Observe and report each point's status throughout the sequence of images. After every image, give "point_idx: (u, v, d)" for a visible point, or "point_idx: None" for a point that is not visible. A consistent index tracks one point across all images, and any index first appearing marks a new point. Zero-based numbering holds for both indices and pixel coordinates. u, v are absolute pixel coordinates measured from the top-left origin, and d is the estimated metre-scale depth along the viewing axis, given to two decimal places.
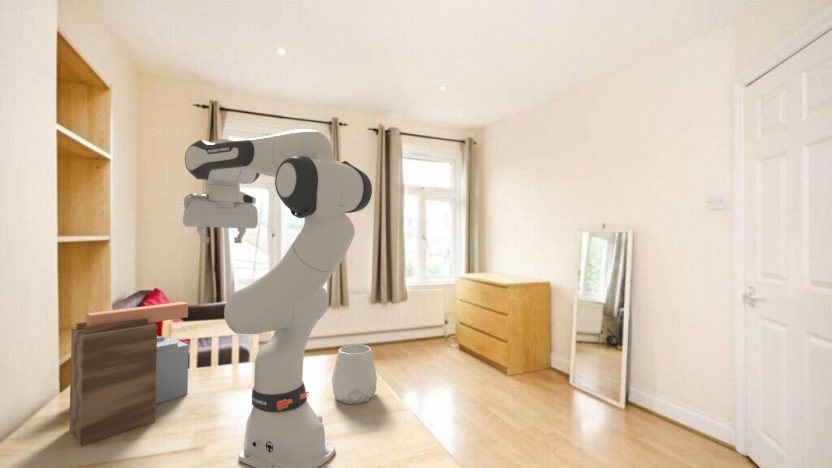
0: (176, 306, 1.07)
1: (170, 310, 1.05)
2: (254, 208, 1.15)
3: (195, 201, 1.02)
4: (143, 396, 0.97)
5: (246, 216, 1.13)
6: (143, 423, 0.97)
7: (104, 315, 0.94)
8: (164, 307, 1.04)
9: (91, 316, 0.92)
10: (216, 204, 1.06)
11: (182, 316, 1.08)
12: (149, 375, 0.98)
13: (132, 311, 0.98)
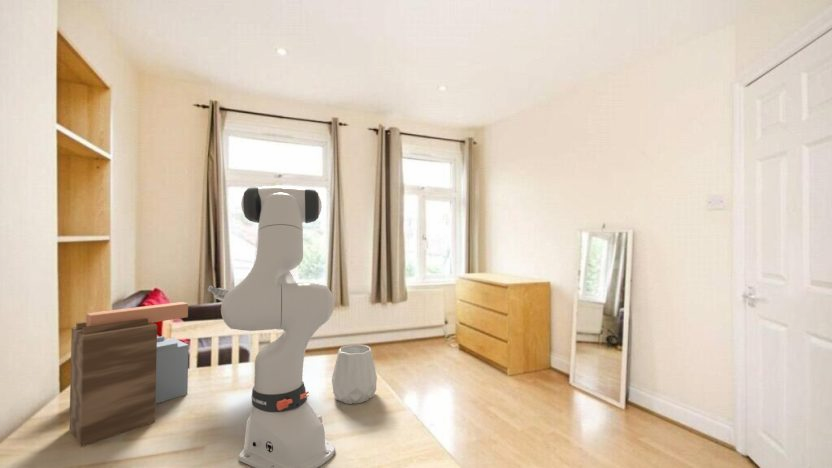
0: (176, 306, 1.07)
1: (170, 310, 1.05)
2: None
3: None
4: (143, 396, 0.97)
5: None
6: (143, 423, 0.97)
7: (104, 315, 0.94)
8: (164, 307, 1.04)
9: (91, 316, 0.92)
10: None
11: (182, 316, 1.08)
12: (149, 375, 0.98)
13: (132, 311, 0.98)
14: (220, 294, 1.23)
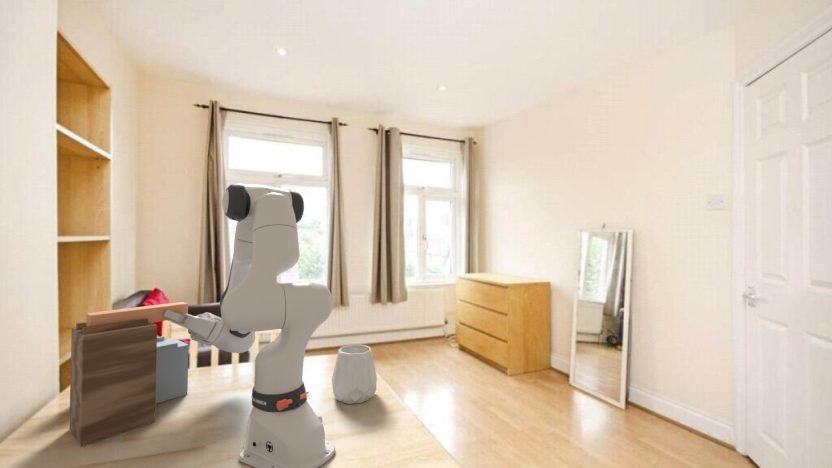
0: (176, 306, 1.06)
1: (170, 310, 1.05)
2: (212, 320, 1.08)
3: None
4: (143, 396, 0.97)
5: None
6: (143, 423, 0.97)
7: (104, 315, 0.94)
8: (164, 307, 1.04)
9: (91, 316, 0.92)
10: None
11: None
12: (149, 375, 0.98)
13: (132, 311, 0.98)
14: None
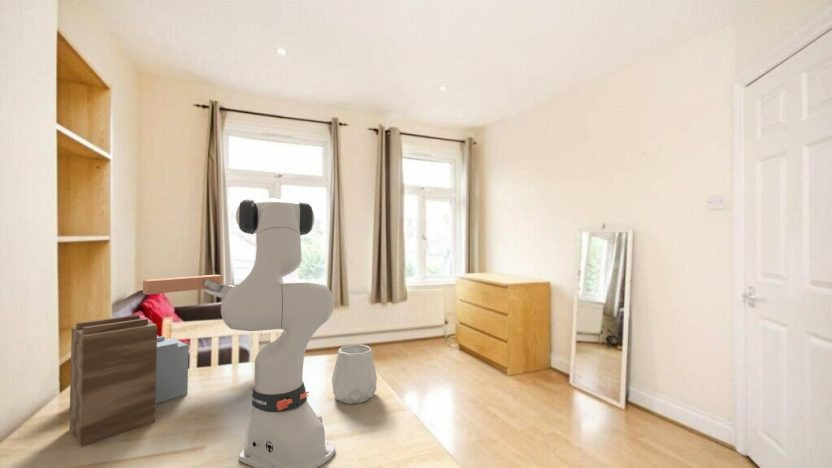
0: (213, 277, 1.26)
1: None
2: None
3: None
4: (143, 396, 0.97)
5: None
6: (143, 423, 0.97)
7: (158, 281, 1.13)
8: (204, 277, 1.24)
9: (148, 282, 1.11)
10: None
11: None
12: (149, 375, 0.98)
13: (179, 279, 1.18)
14: None
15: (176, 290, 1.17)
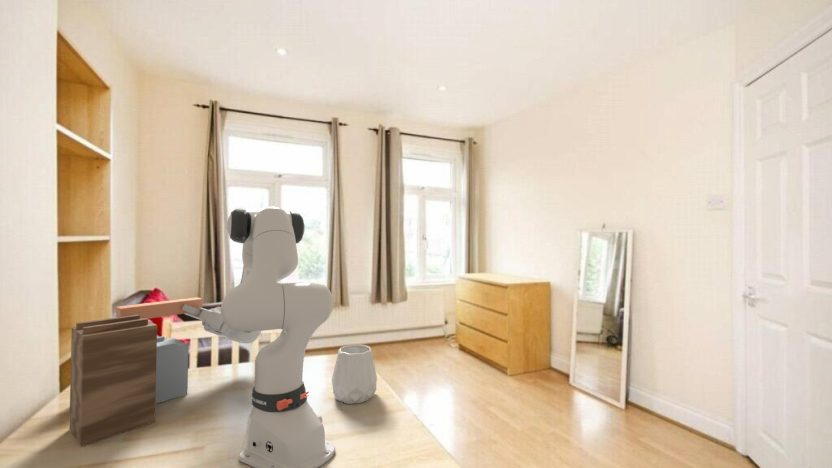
0: (192, 301, 1.21)
1: None
2: None
3: None
4: (143, 396, 0.97)
5: None
6: (143, 423, 0.97)
7: (132, 308, 1.08)
8: (182, 302, 1.19)
9: (121, 309, 1.06)
10: None
11: None
12: (149, 375, 0.98)
13: (155, 305, 1.13)
14: None
15: (152, 316, 1.12)
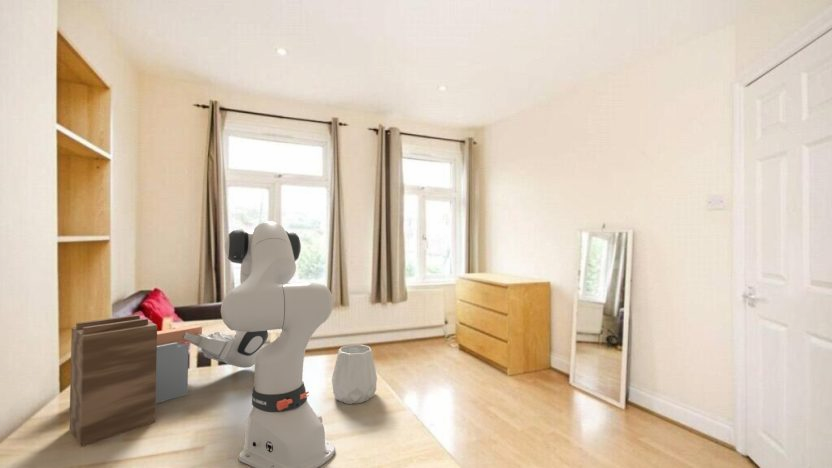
0: (192, 329, 1.21)
1: None
2: (223, 340, 1.23)
3: None
4: (143, 396, 0.97)
5: None
6: (143, 423, 0.97)
7: None
8: (181, 331, 1.19)
9: None
10: None
11: None
12: (149, 375, 0.98)
13: None
14: None
15: None
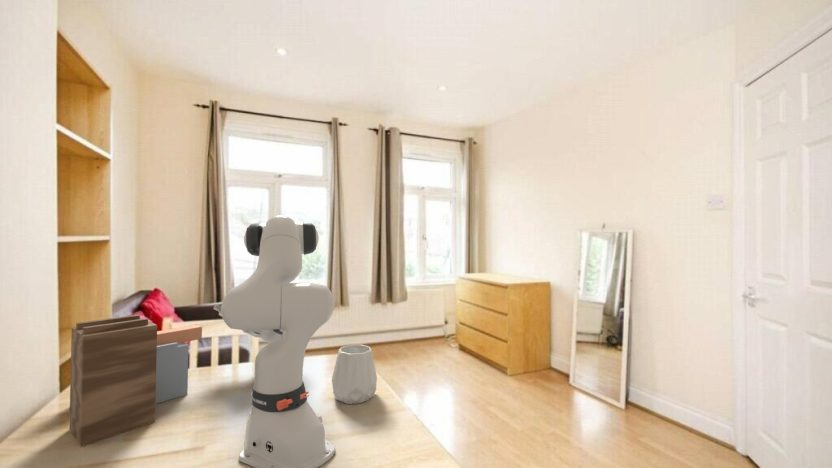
0: (192, 329, 1.21)
1: (186, 333, 1.20)
2: None
3: None
4: (143, 396, 0.97)
5: None
6: (143, 423, 0.97)
7: None
8: (181, 331, 1.19)
9: None
10: None
11: (197, 338, 1.22)
12: (149, 375, 0.98)
13: None
14: None
15: None
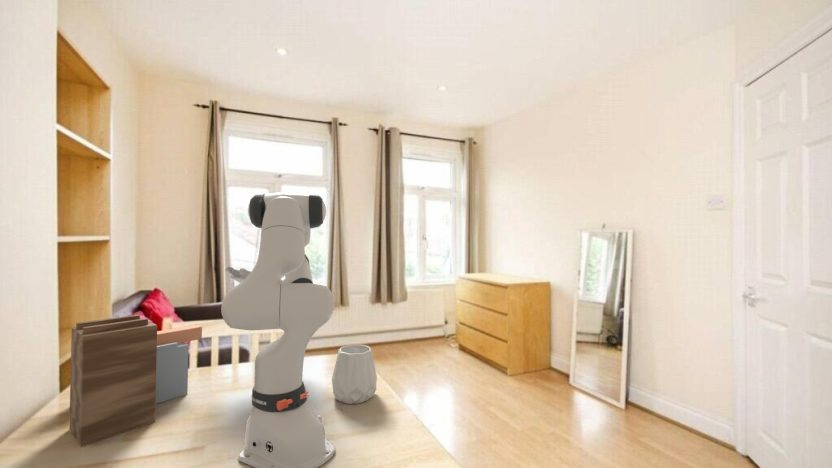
0: (192, 329, 1.21)
1: (186, 333, 1.20)
2: None
3: None
4: (143, 396, 0.97)
5: None
6: (143, 423, 0.97)
7: None
8: (181, 331, 1.19)
9: None
10: None
11: (197, 338, 1.22)
12: (149, 375, 0.98)
13: None
14: (236, 274, 1.34)
15: None
